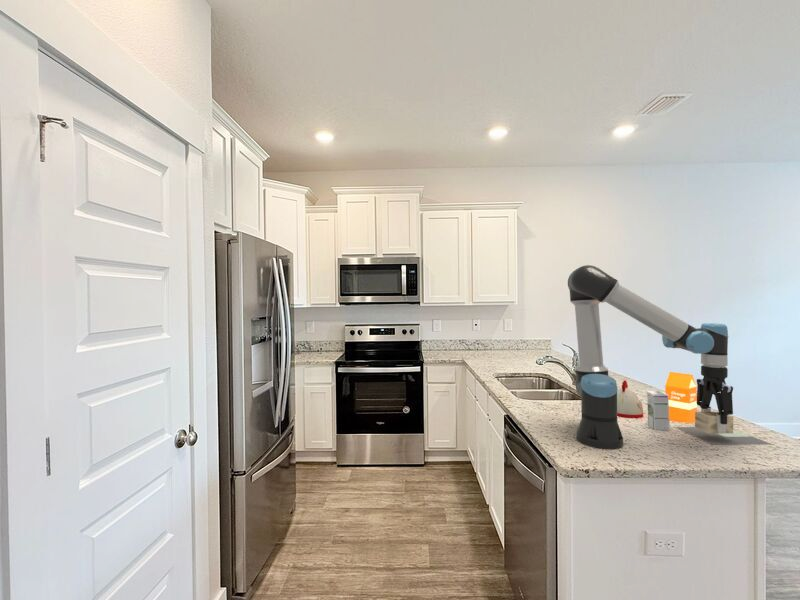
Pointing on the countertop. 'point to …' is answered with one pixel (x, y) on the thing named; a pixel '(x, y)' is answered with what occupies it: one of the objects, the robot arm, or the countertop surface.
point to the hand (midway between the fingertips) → (713, 429)
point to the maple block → (711, 422)
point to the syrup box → (658, 410)
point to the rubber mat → (723, 437)
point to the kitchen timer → (628, 403)
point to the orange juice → (681, 397)
